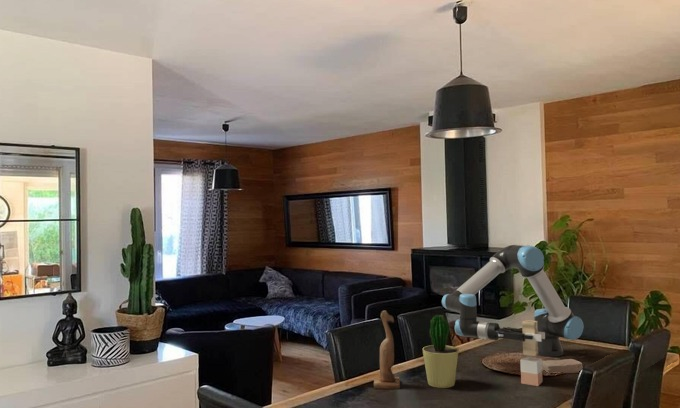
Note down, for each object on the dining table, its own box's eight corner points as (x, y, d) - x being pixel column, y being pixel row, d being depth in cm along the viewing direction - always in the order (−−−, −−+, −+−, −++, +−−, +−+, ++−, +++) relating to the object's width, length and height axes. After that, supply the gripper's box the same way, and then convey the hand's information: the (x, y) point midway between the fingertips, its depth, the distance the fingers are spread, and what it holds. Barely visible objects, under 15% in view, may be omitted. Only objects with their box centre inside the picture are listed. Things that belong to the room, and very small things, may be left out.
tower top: (525, 367, 226) (525, 356, 227) (542, 370, 222) (541, 358, 222) (520, 371, 221) (520, 359, 221) (537, 374, 217) (536, 362, 217)
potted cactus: (452, 391, 211) (450, 318, 212) (417, 385, 219) (416, 315, 220) (464, 381, 224) (462, 312, 225) (431, 376, 232) (429, 309, 233)
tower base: (526, 379, 226) (525, 367, 226) (542, 381, 222) (542, 370, 222) (521, 383, 221) (520, 371, 221) (538, 386, 216) (537, 374, 217)
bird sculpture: (401, 390, 215) (402, 313, 217) (373, 389, 216) (374, 312, 217) (399, 382, 226) (399, 308, 228) (372, 381, 227) (373, 308, 228)
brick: (548, 374, 233) (548, 364, 233) (540, 369, 241) (539, 359, 241) (583, 373, 234) (583, 363, 234) (573, 368, 243) (573, 358, 243)
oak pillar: (526, 352, 225) (525, 320, 226) (538, 353, 222) (537, 321, 223) (523, 354, 221) (522, 321, 222) (535, 356, 218) (534, 323, 219)
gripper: (495, 335, 240) (548, 341, 226) (482, 343, 225) (537, 350, 211) (495, 319, 240) (547, 324, 226) (482, 325, 225) (537, 331, 212)
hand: (542, 336), depth 219 cm, fingers closed on oak pillar, 5 cm apart
